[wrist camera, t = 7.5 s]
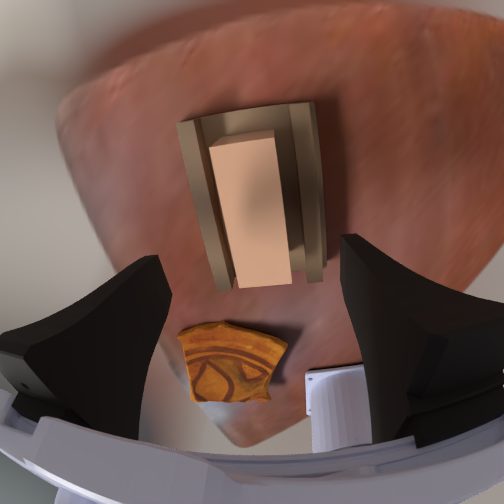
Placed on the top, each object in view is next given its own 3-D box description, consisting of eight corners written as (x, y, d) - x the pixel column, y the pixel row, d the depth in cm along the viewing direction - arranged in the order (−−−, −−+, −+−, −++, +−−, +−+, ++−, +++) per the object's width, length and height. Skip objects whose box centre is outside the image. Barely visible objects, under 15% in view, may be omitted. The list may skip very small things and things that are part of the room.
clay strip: (289, 251, 19) (292, 283, 16) (244, 256, 20) (239, 288, 17) (273, 129, 15) (274, 137, 12) (221, 137, 16) (209, 147, 13)
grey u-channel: (325, 261, 20) (330, 280, 18) (216, 272, 21) (210, 291, 19) (312, 101, 15) (318, 101, 13) (179, 121, 16) (167, 126, 14)
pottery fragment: (189, 404, 27) (160, 361, 21) (195, 368, 31) (171, 316, 24) (285, 407, 27) (290, 365, 20) (284, 369, 30) (288, 316, 24)
